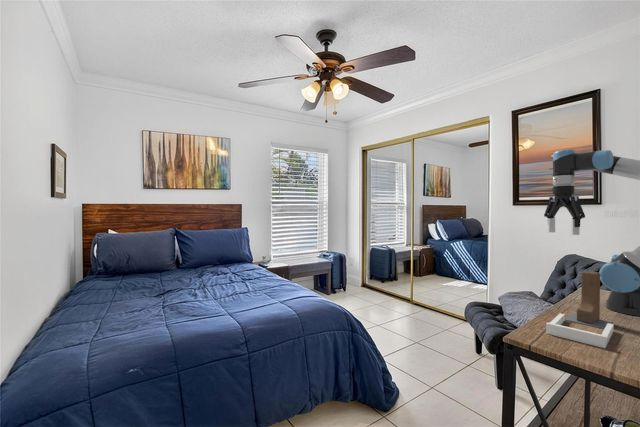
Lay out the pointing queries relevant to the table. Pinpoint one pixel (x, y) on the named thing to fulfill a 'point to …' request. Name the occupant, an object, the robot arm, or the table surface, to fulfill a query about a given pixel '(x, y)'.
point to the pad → (599, 323)
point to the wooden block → (589, 298)
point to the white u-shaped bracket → (579, 332)
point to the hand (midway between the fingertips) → (562, 233)
